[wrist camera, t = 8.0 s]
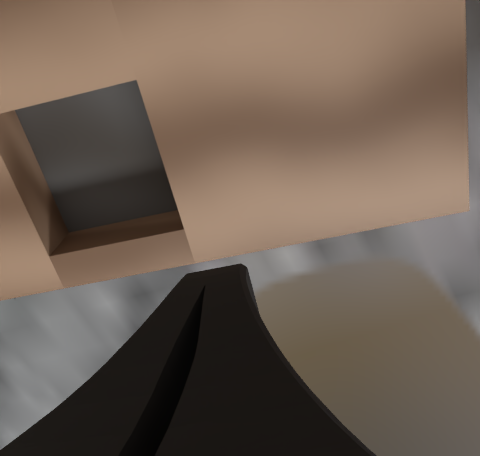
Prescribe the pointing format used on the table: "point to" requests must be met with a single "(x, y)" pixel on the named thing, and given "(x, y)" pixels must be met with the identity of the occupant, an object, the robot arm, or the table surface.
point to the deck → (220, 129)
